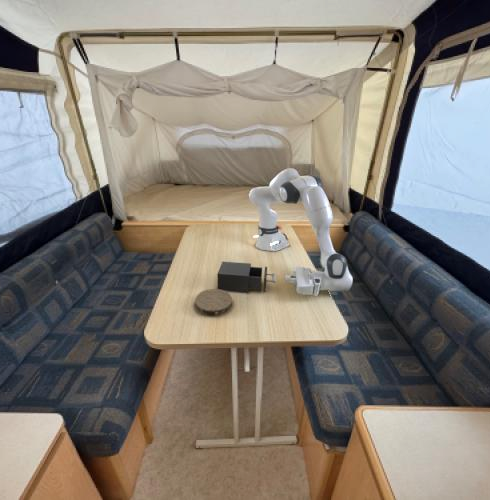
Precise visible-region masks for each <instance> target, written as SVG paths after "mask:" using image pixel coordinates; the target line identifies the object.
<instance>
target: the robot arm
mask: <svg viewBox="0 0 490 500" xmlns="http://www.w3.org/2000/svg"><path fill="white" fill-rule="evenodd" d="M248 198H249V202H250V203H251V204H252V206H254V207H255V208H256V209H257V211H258V226H257V235H253V238H257V239H256V242H255V247H256V248H257V249H259V250H261V251H270V252H277V251H279V250H282V249H285V248H287V247H289V246H290V243H289V242H288V241H287V240H288V236H287V235H286V233H284V232H281V230H282V229H283V227H282V226H280V225H278V224H277V223H278V213H277V212H276V211H275V210H273V209H271V206H272V205H273V206H274V205H282V204H293V205H294V204H295V205H296V204H298V203H301V204H302V205H303V207H304V211H305V214H306V218H307V219H308V222H309V225H310V226H311V229H312V230H313V232H314V234H315V238H316V240H317V244H318V248H319V251H320V253H319V254H320V255H319V265H320V266H321V269H323V270H324V271H319V270H312V269H311V268H309V267H307V266H301V265H296V266H294V271H293V272H294V273H292V274H286V275H285V281H286V282H288V283H291V284H295V289H296V294H298V295H303V296H313V297H318V296H319V293H320V291H330V292H336V293H337V292H338V293H339V292H343V293H344V292H347V291H349V290H350V289H351V288H352V286H353V282H354V280H353V279H354V278H353V275H352V274H351V273H350V270H349V267H348V260H347V258H346V256H344V255H343V254H341V253H339V252H337V251H336V250H335V249H334V246H333V242H332V238H331V234H330V228H331V225H332V223H333V221H334V218H333V211H332V208H331V207H332V206H331V203H330V201H329V198H328V197H327V194H326V192H325V191H324V189H323V181H322V178H321V177H319V176H318V175H316V174H306V173H305V174H304V175H300V173H299V172H298V170H296V169H295V168H293V167H288V168H286V169H284V170H282V171H280V172H279V173H278V174H277V175H276V176H274V177H273V179H272V180H271V181H270V182H269V186H258V187H254V188H251V190H250V191H249V194H248Z"/></svg>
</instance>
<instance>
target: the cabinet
mask: <svg viewBox="0 0 490 500" xmlns="http://www.w3.org/2000/svg"><path fill="white" fill-rule="evenodd" d="M251 267H252V263H250V262H234V261H221V264H220V266H219V269H218V271H217V274H216V275H217V277H216V278H217V289H220V290H224V291H226V292H234V293H244V294H247V293H248V294H249V290H250V289H248V285H249V273H250V268H251Z"/></svg>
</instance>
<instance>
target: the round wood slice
mask: <svg viewBox="0 0 490 500" xmlns="http://www.w3.org/2000/svg"><path fill="white" fill-rule="evenodd" d="M194 301H195V302H194V303H195V309H196V311H197V312H198V313H199V314H201V315H203V316H207V317H219V316H222V315H225V314H227V313H228V312H230V310H231V309H232V306H233V298H232V296H231V294H230V293H229V291H224V290H220V289H218V288H210V289H206V290H203V291H200V292H199V293H198V294H197V295H196V296H195V299H194Z"/></svg>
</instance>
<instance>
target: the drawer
mask: <svg viewBox="0 0 490 500" xmlns="http://www.w3.org/2000/svg"><path fill="white" fill-rule="evenodd" d="M268 276H271V277H272V280H271V279H267V278H268ZM262 277H263V279H262ZM262 280H263V286H262ZM267 282H268V283H272V284H276V273H268V266H264V273H263V267H259V266H251V268H250V273H249V285H248V289H249V290H252V291H261V289H262V291H263V293H266V292H267ZM262 287H263V288H262Z"/></svg>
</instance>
